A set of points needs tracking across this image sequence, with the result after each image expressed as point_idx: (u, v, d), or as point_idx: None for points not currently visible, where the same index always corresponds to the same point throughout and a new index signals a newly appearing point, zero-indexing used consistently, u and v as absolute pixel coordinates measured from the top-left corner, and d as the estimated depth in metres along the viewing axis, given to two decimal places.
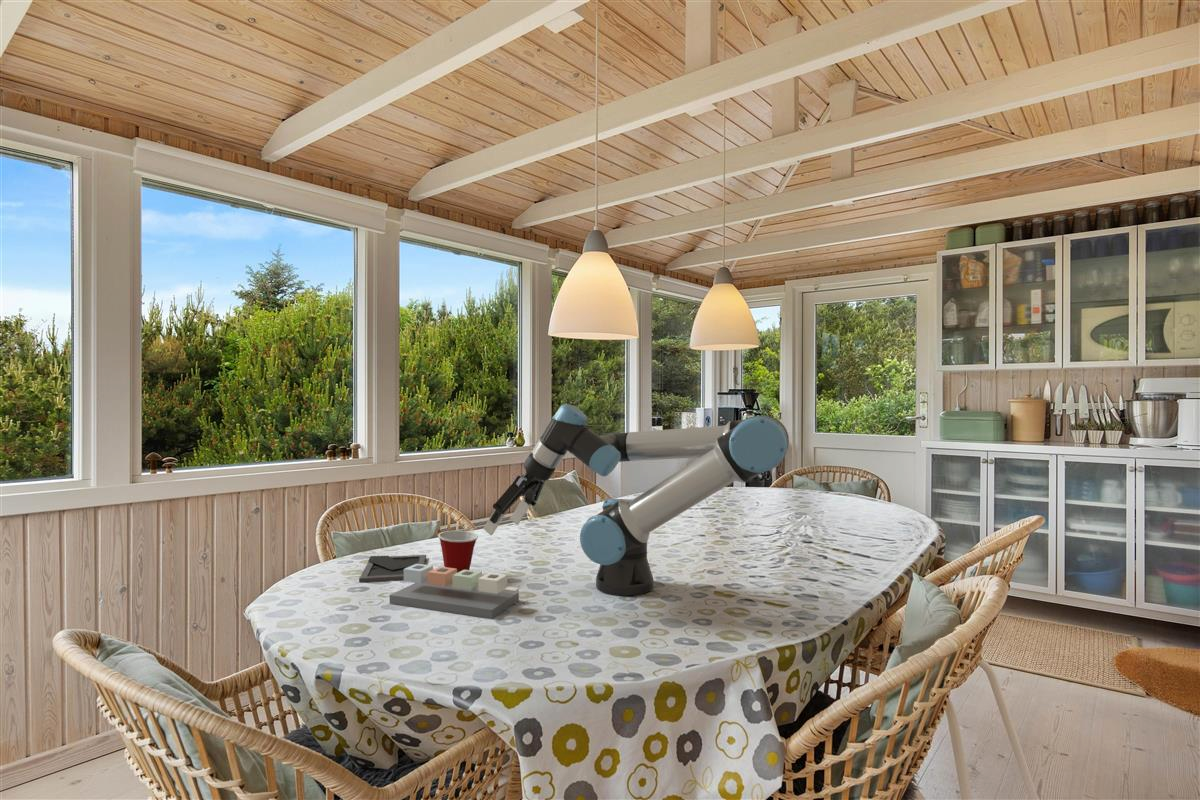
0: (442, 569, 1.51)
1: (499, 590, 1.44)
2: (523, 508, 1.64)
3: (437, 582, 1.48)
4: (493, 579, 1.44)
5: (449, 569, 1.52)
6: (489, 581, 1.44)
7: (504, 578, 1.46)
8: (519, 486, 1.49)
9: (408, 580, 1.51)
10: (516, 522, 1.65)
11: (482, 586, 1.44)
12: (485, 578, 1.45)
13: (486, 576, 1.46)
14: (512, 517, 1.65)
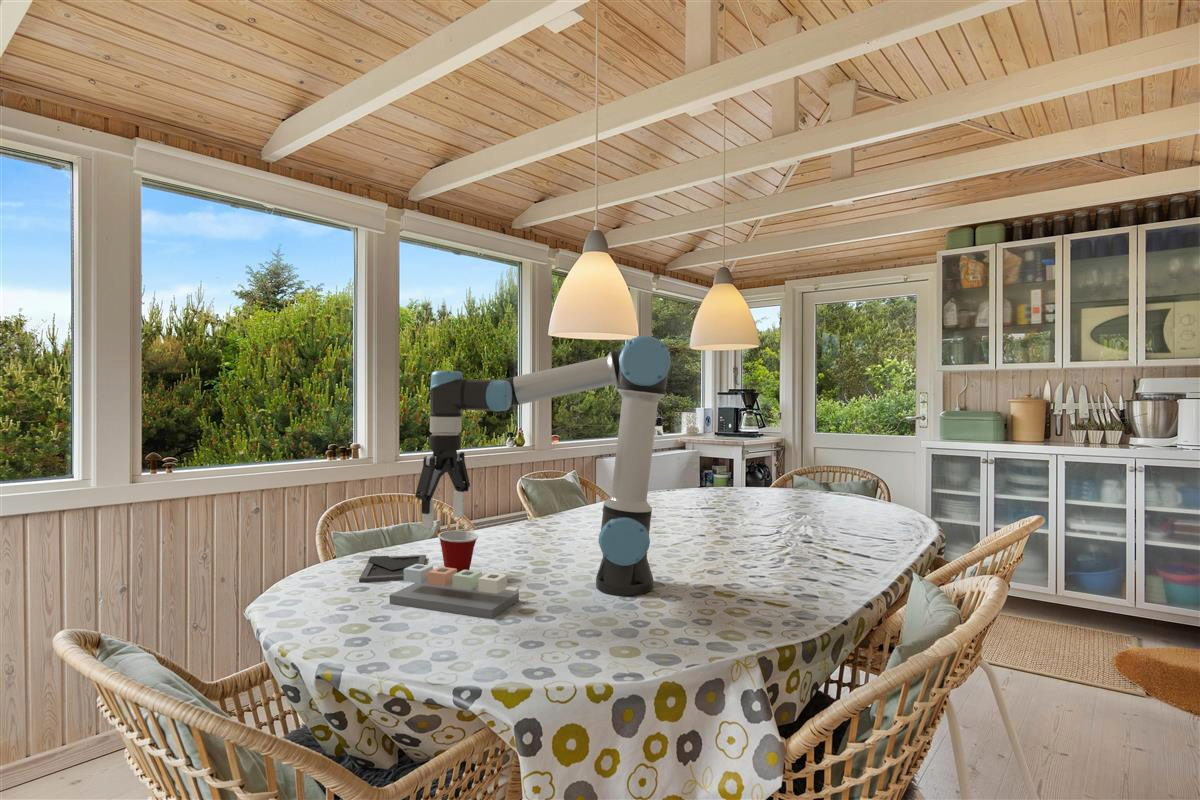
0: (442, 569, 1.51)
1: (499, 590, 1.44)
2: (458, 498, 1.56)
3: (437, 582, 1.48)
4: (493, 579, 1.44)
5: (449, 569, 1.52)
6: (489, 581, 1.44)
7: (504, 578, 1.46)
8: (430, 464, 1.44)
9: (408, 580, 1.51)
10: (460, 515, 1.56)
11: (482, 586, 1.44)
12: (485, 578, 1.45)
13: (486, 576, 1.46)
14: (454, 513, 1.57)
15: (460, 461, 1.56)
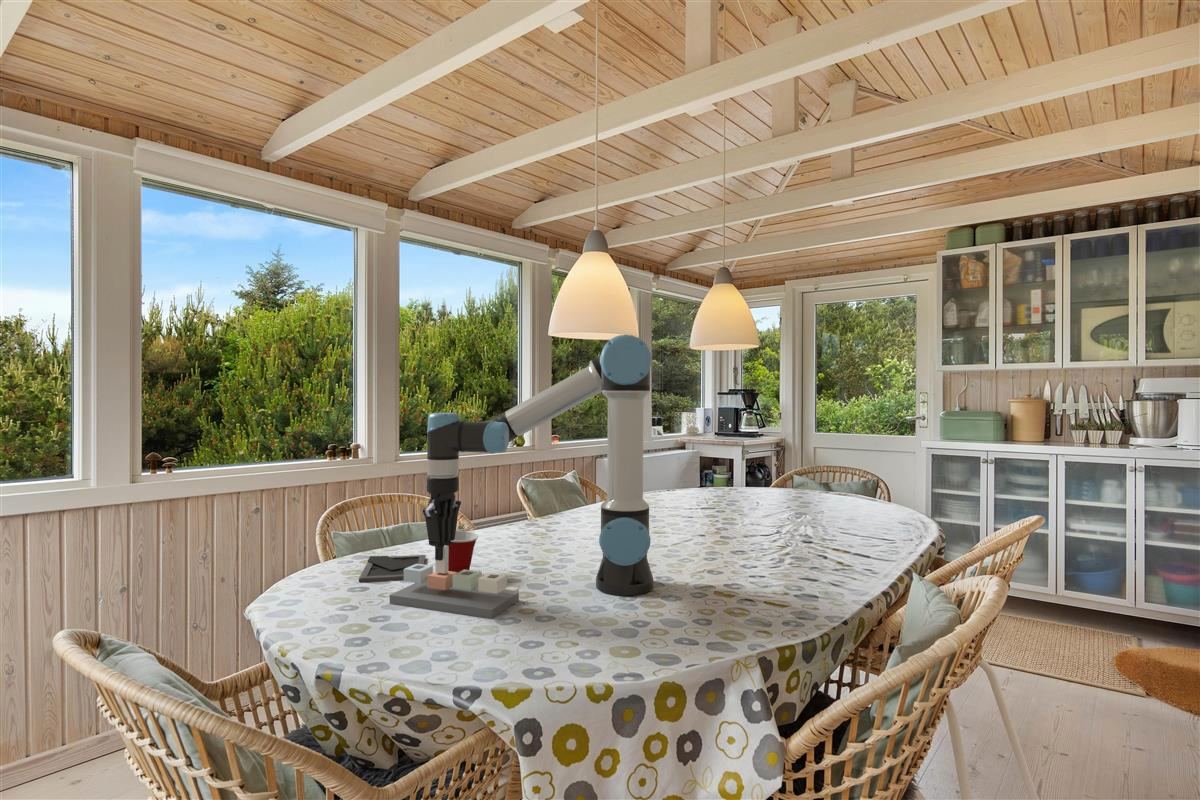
0: None
1: (499, 590, 1.44)
2: None
3: (437, 585, 1.48)
4: (493, 579, 1.44)
5: (449, 572, 1.52)
6: (489, 581, 1.44)
7: (504, 578, 1.46)
8: (431, 516, 1.45)
9: (408, 580, 1.51)
10: None
11: (482, 586, 1.44)
12: (485, 578, 1.45)
13: (486, 576, 1.46)
14: None
15: (454, 508, 1.54)
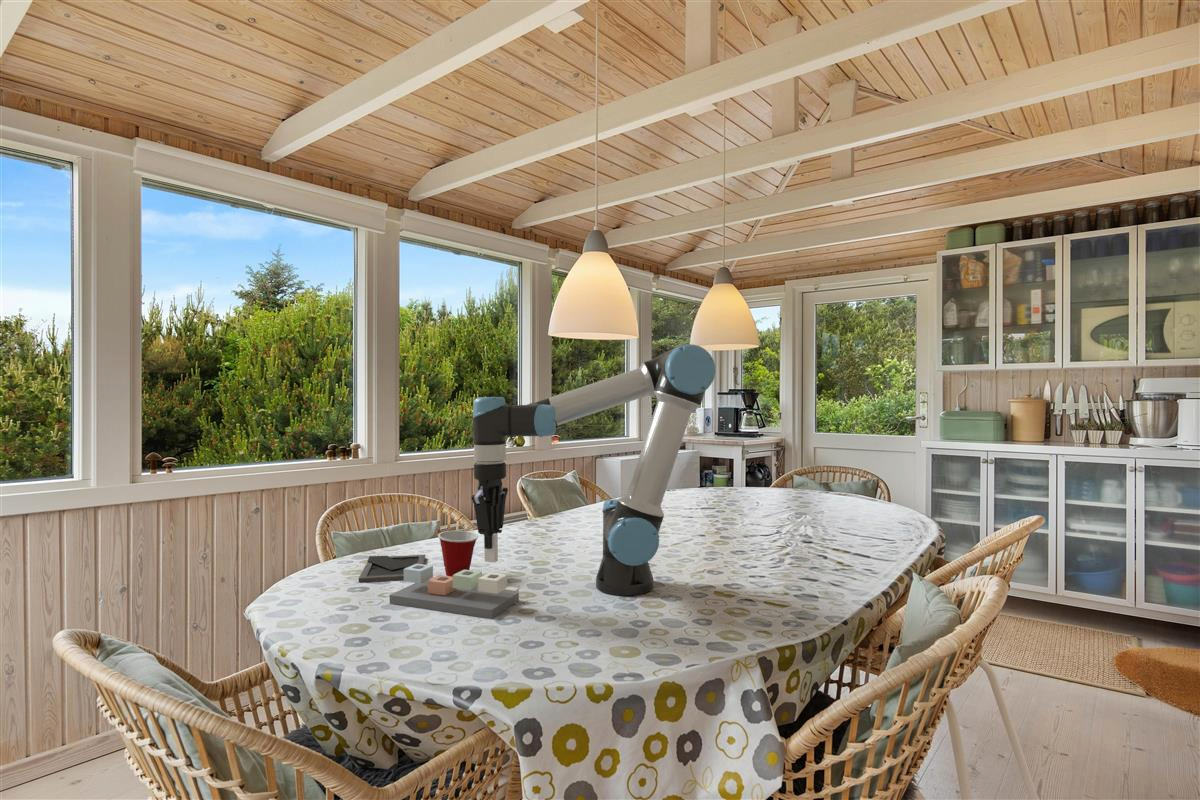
0: (442, 578, 1.51)
1: (499, 590, 1.44)
2: None
3: (437, 591, 1.48)
4: (493, 579, 1.44)
5: (449, 578, 1.52)
6: (489, 581, 1.44)
7: (504, 578, 1.46)
8: (480, 503, 1.41)
9: (408, 580, 1.51)
10: None
11: (482, 586, 1.44)
12: (485, 578, 1.45)
13: (486, 576, 1.46)
14: None
15: (502, 495, 1.50)
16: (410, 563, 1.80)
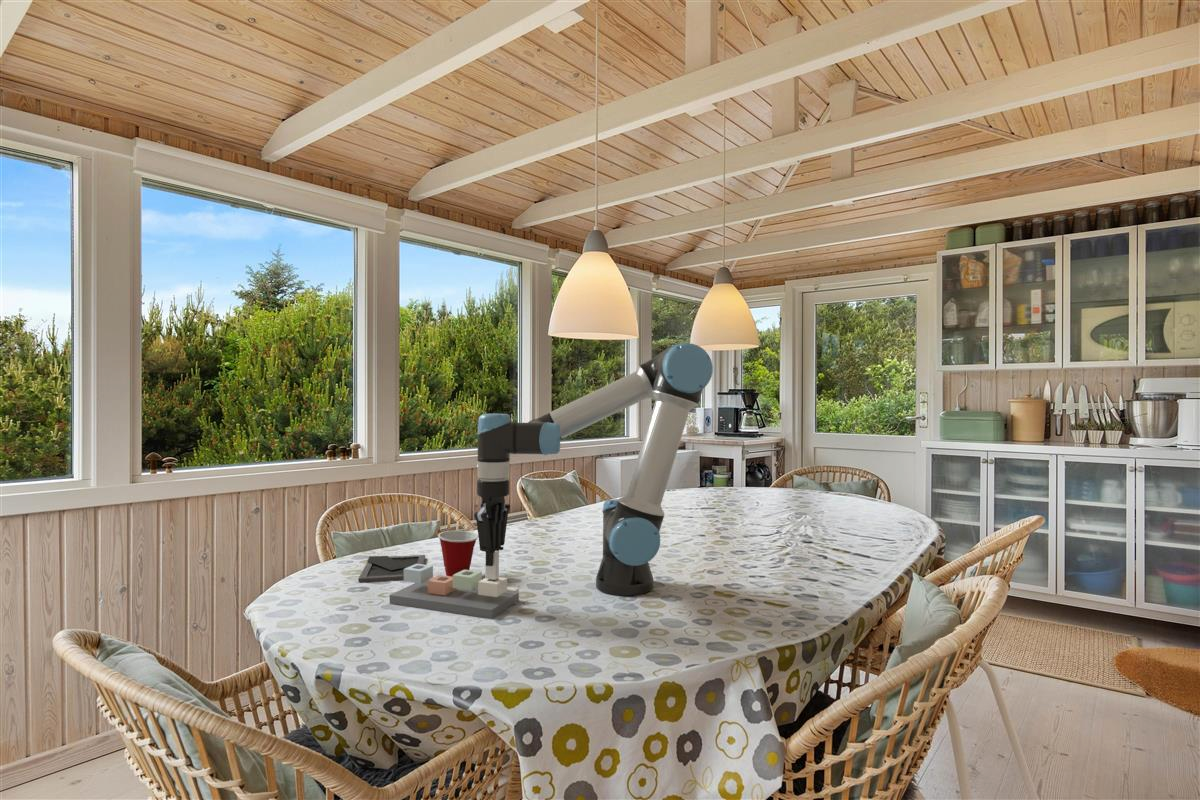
0: (442, 578, 1.51)
1: (499, 593, 1.44)
2: None
3: (437, 591, 1.48)
4: (493, 582, 1.44)
5: (449, 578, 1.52)
6: (489, 584, 1.44)
7: (504, 581, 1.46)
8: (483, 521, 1.40)
9: (408, 580, 1.51)
10: None
11: (482, 589, 1.44)
12: (485, 581, 1.45)
13: (486, 579, 1.46)
14: None
15: (504, 512, 1.50)
16: (410, 563, 1.80)
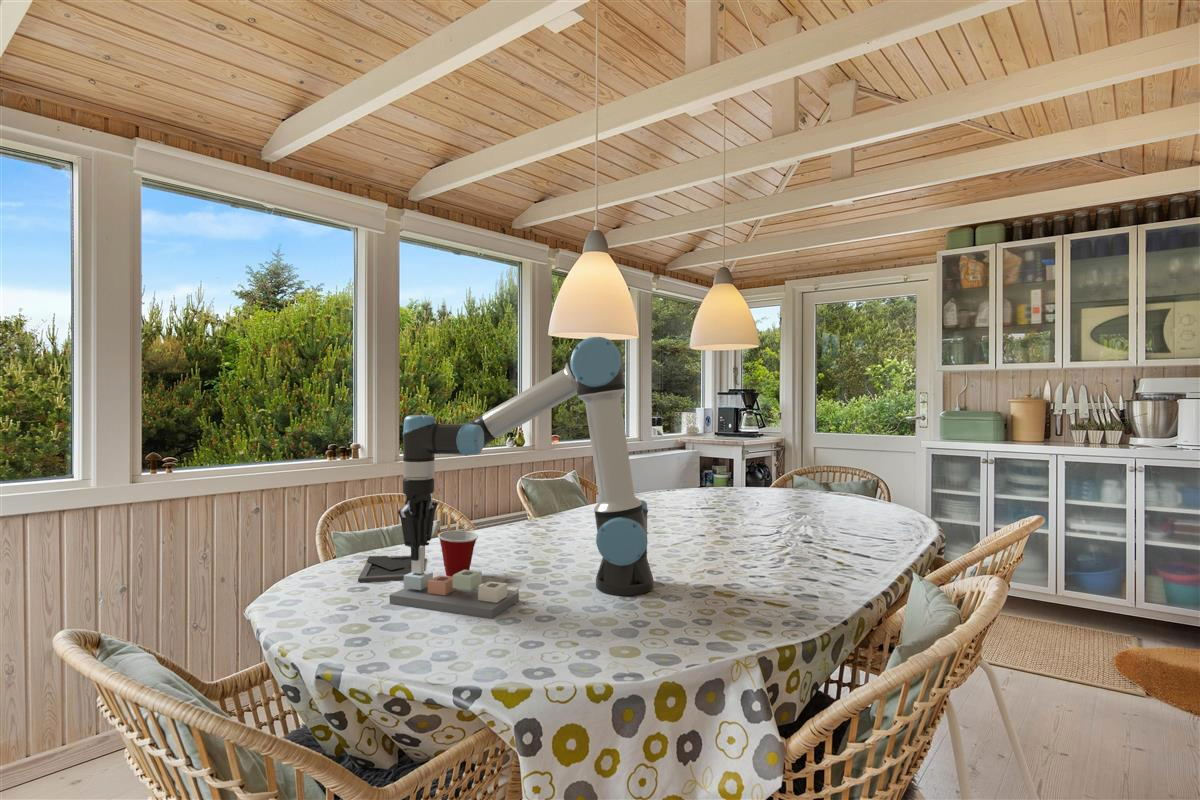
0: (442, 578, 1.51)
1: (499, 599, 1.44)
2: None
3: (437, 591, 1.48)
4: (493, 588, 1.44)
5: (449, 578, 1.52)
6: (489, 590, 1.44)
7: (504, 587, 1.46)
8: (406, 517, 1.48)
9: (408, 587, 1.51)
10: None
11: (482, 595, 1.44)
12: (485, 587, 1.45)
13: (486, 585, 1.46)
14: None
15: (431, 509, 1.57)
16: (409, 563, 1.80)
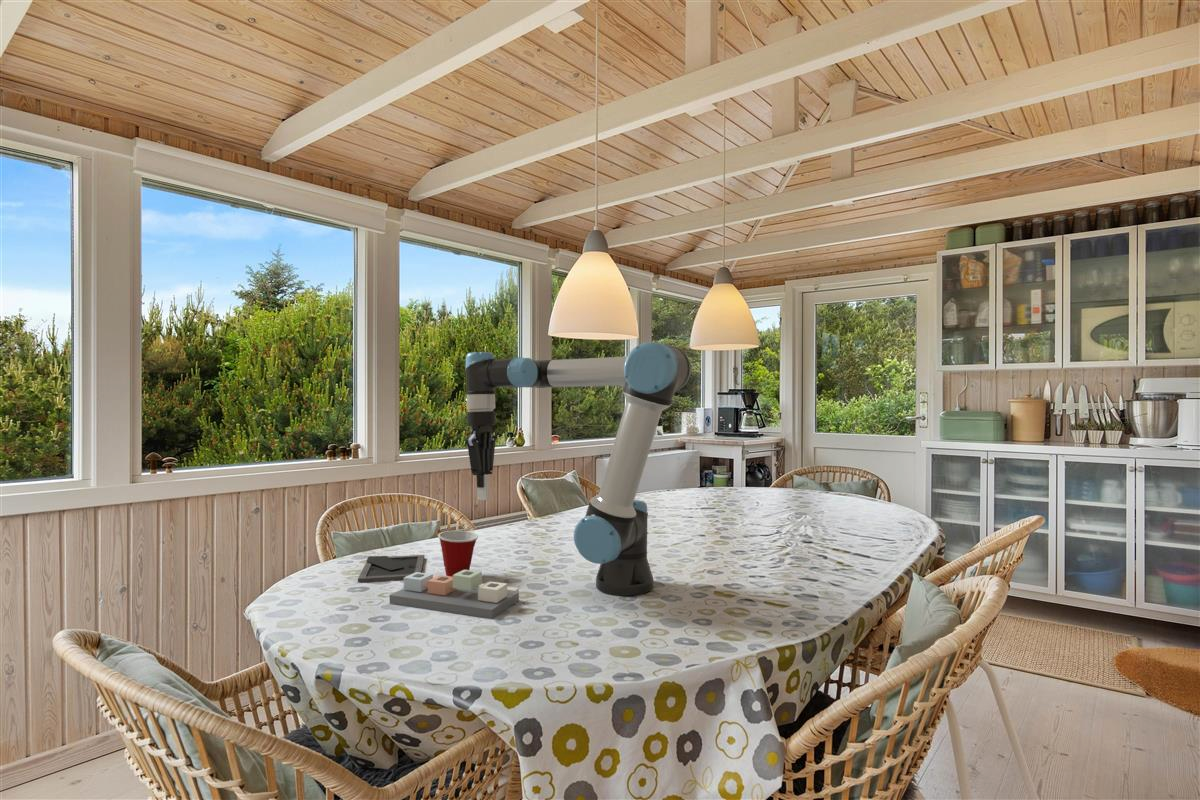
0: (442, 578, 1.51)
1: (499, 599, 1.44)
2: None
3: (437, 591, 1.48)
4: (493, 588, 1.44)
5: (449, 578, 1.52)
6: (489, 590, 1.44)
7: (504, 587, 1.46)
8: (473, 445, 1.58)
9: (408, 589, 1.51)
10: None
11: (482, 595, 1.44)
12: (485, 587, 1.45)
13: (486, 585, 1.46)
14: None
15: (491, 441, 1.68)
16: (409, 563, 1.80)
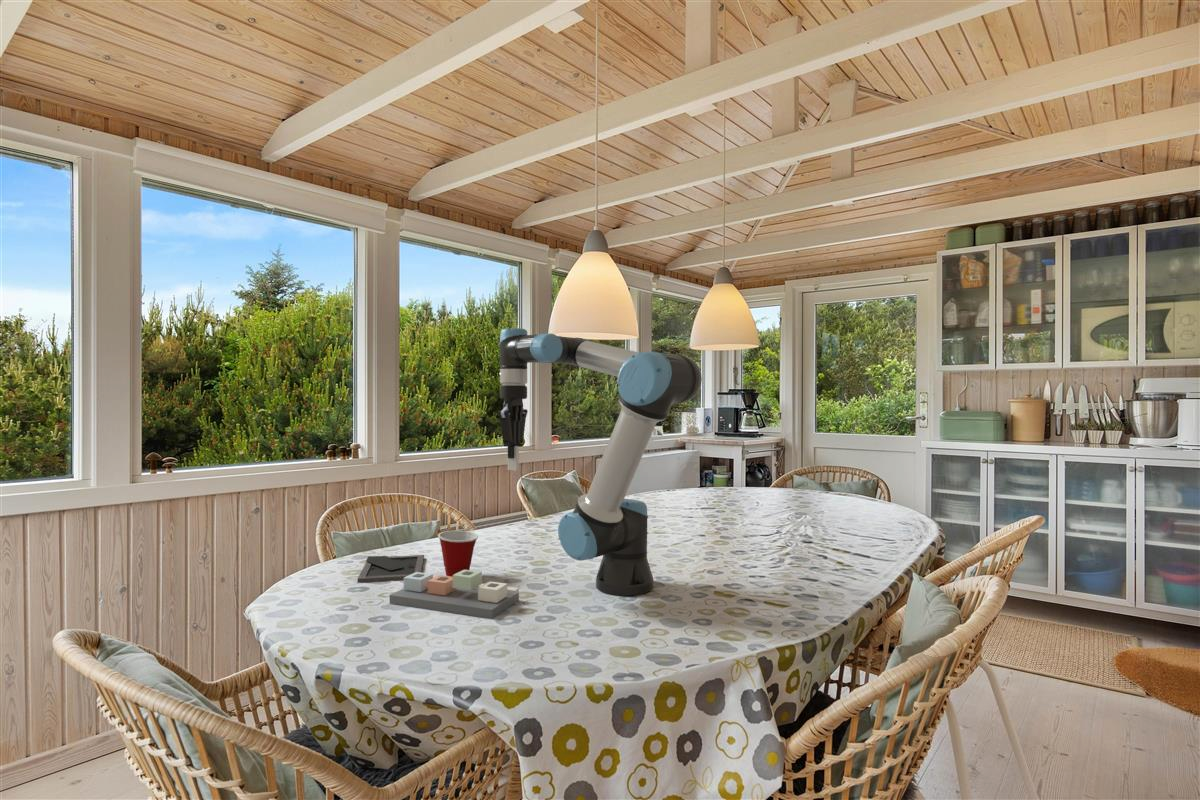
0: (442, 578, 1.51)
1: (499, 599, 1.44)
2: None
3: (437, 591, 1.48)
4: (493, 588, 1.44)
5: (449, 578, 1.52)
6: (489, 590, 1.44)
7: (504, 587, 1.46)
8: (506, 417, 1.65)
9: (408, 589, 1.51)
10: None
11: (482, 595, 1.44)
12: (485, 587, 1.45)
13: (486, 585, 1.46)
14: None
15: (522, 415, 1.74)
16: (409, 563, 1.80)
